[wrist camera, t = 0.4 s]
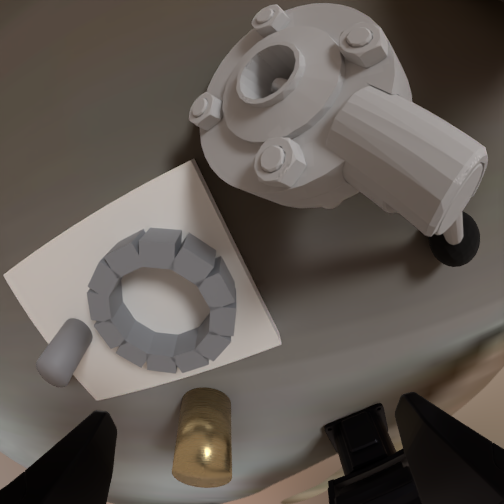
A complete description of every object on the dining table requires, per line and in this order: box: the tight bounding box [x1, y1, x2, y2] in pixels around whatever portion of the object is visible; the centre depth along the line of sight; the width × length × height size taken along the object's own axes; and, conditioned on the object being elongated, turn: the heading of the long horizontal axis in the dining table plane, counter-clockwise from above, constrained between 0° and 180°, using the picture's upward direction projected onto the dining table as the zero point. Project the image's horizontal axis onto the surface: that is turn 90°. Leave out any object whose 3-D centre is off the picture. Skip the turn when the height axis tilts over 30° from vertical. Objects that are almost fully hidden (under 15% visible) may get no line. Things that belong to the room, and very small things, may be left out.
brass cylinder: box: [172, 388, 232, 488], centre depth 22 cm, size 4×4×8 cm
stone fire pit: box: [3, 159, 282, 401], centre depth 19 cm, size 14×18×6 cm
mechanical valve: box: [189, 3, 488, 267], centre depth 17 cm, size 10×18×15 cm
